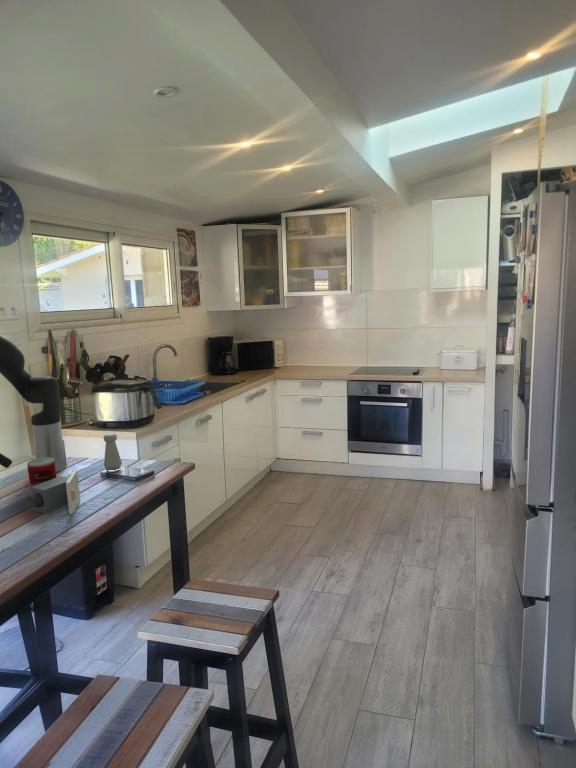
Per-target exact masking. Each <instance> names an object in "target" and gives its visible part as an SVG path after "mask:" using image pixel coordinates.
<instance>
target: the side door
mask: <svg viewBox="0 0 576 768" xmlns="http://www.w3.org/2000/svg"><path fill="white" fill-rule="evenodd" d="M72 471H73V470H72ZM78 476H79V475H78V470H76V471H73V472H72V473H71V474H70V476H69V477H68V478H69V479H68V480H67V482H66V489H67V498H68V505H67V507H68V514H69V515H74V513H75V511H76V510H77V507H78V506H79V503H80V502H81V494H80V485H79V477H78Z"/></svg>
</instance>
